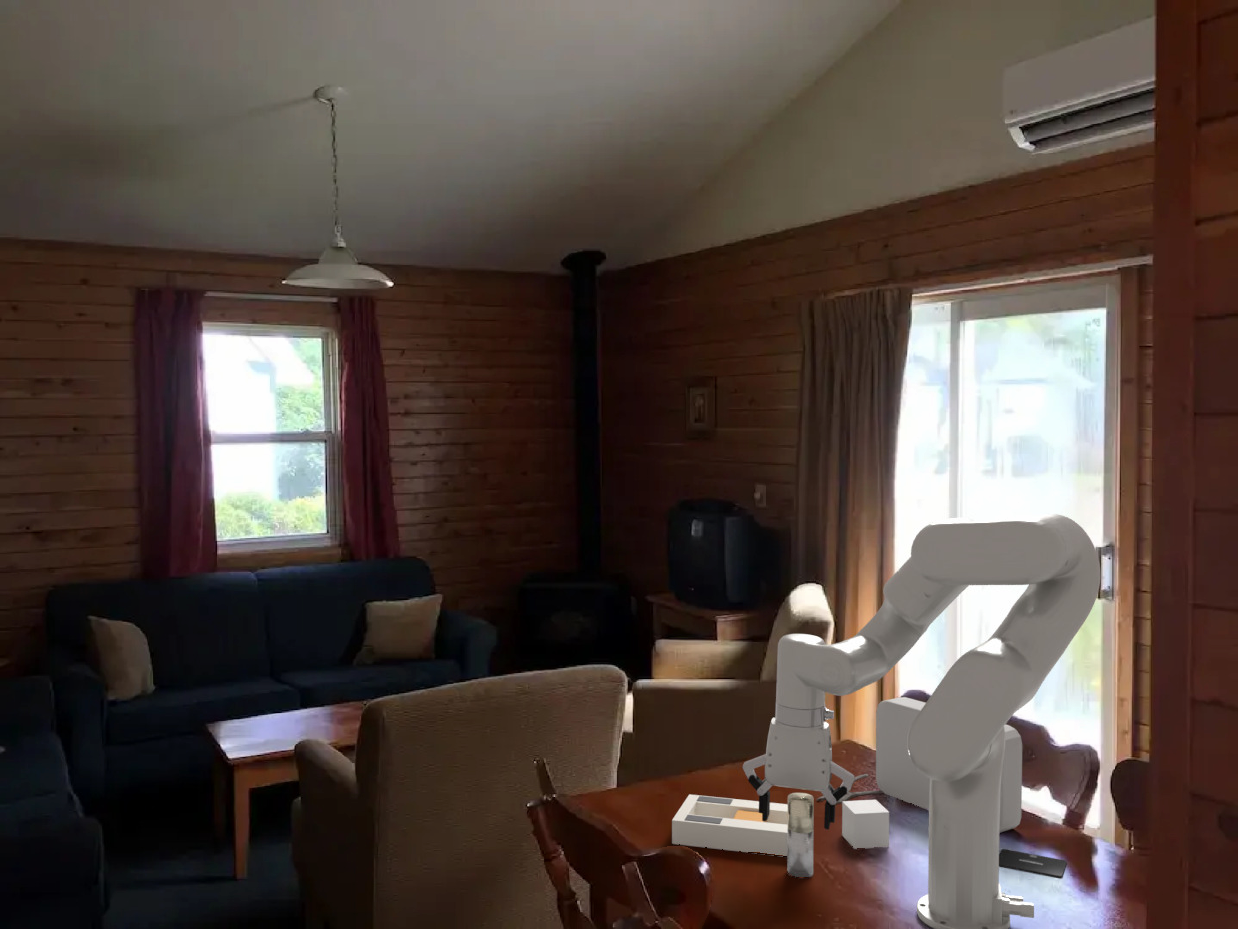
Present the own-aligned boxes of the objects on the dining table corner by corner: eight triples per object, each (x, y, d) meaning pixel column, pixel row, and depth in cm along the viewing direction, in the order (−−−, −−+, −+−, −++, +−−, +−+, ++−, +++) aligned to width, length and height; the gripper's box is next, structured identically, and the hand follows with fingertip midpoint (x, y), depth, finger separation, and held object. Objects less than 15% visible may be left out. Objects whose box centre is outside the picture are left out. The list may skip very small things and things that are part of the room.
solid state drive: (1001, 852, 174) (1001, 848, 174) (1067, 865, 169) (1067, 860, 169) (994, 867, 167) (994, 863, 167) (1061, 881, 163) (1061, 876, 163)
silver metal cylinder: (814, 869, 166) (814, 794, 166) (811, 879, 162) (812, 802, 162) (789, 866, 167) (789, 791, 167) (785, 876, 163) (786, 800, 163)
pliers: (907, 782, 206) (863, 811, 190) (907, 786, 206) (863, 815, 190) (861, 772, 212) (814, 799, 196) (861, 776, 212) (814, 803, 196)
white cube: (854, 849, 174) (854, 814, 174) (842, 836, 180) (842, 801, 180) (889, 847, 175) (889, 812, 175) (875, 834, 181) (875, 799, 181)
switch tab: (766, 826, 181) (766, 813, 181) (761, 838, 176) (761, 824, 176) (737, 823, 182) (737, 810, 182) (732, 835, 177) (732, 821, 177)
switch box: (813, 829, 182) (813, 806, 182) (804, 859, 170) (804, 834, 170) (689, 816, 189) (689, 794, 188) (672, 843, 176) (672, 819, 176)
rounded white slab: (1030, 829, 183) (1031, 726, 182) (1002, 839, 178) (1003, 733, 178) (902, 783, 207) (903, 692, 206) (875, 790, 202) (876, 698, 202)
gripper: (858, 714, 165) (854, 820, 166) (748, 702, 170) (745, 806, 171) (854, 727, 158) (850, 839, 159) (740, 715, 163) (737, 823, 164)
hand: (796, 822), depth 165 cm, fingers open, 9 cm apart
